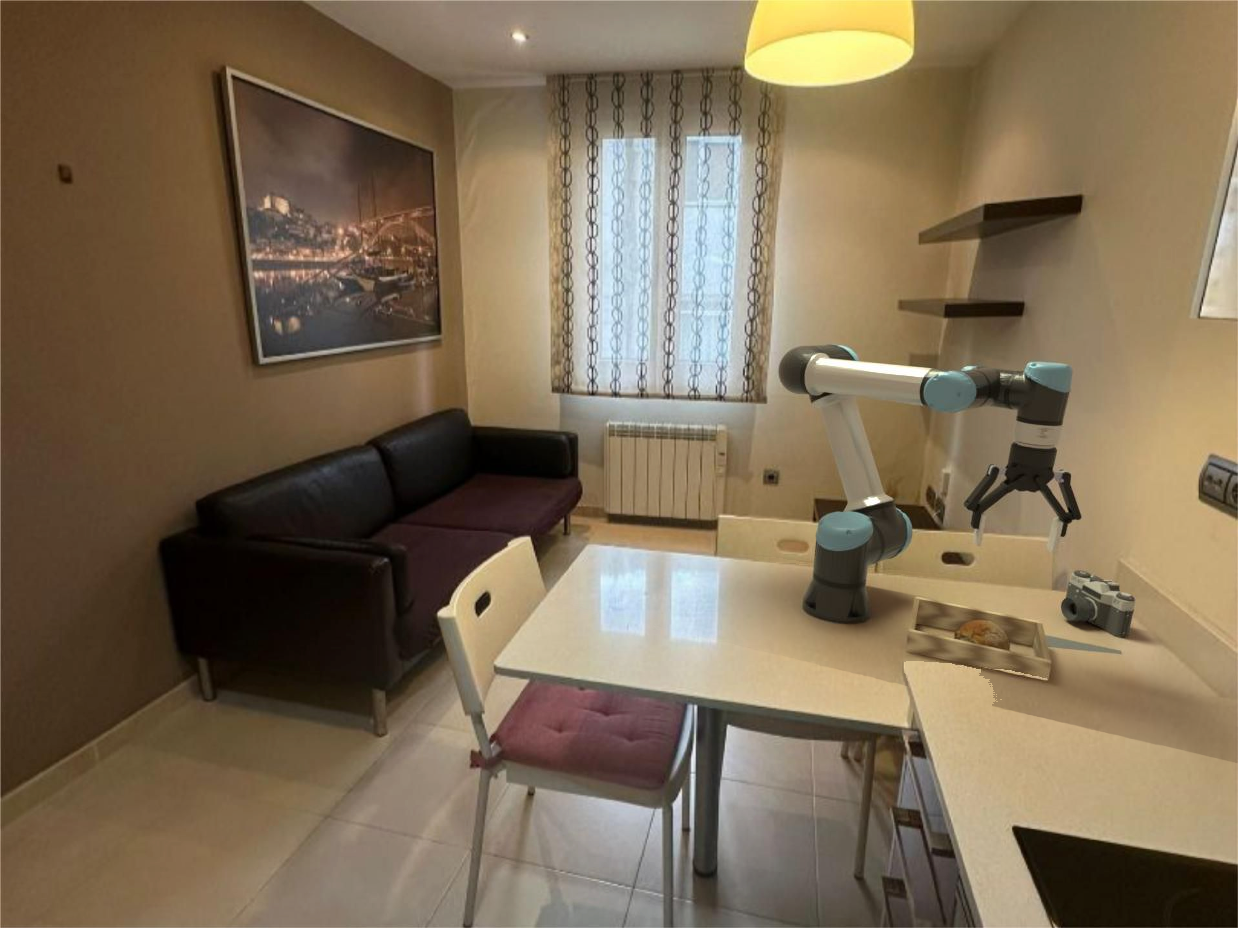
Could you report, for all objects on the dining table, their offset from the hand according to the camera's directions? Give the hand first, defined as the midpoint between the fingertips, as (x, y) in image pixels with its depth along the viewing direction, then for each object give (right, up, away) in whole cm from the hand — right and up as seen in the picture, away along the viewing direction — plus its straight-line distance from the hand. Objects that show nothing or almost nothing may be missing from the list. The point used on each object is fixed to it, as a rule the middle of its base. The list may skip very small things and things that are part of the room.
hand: (1013, 547), depth 128 cm
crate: (-7, -22, +3) cm, 23 cm away
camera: (+27, -19, +18) cm, 37 cm away
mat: (+15, -23, +1) cm, 27 cm away
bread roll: (-7, -23, +3) cm, 24 cm away
